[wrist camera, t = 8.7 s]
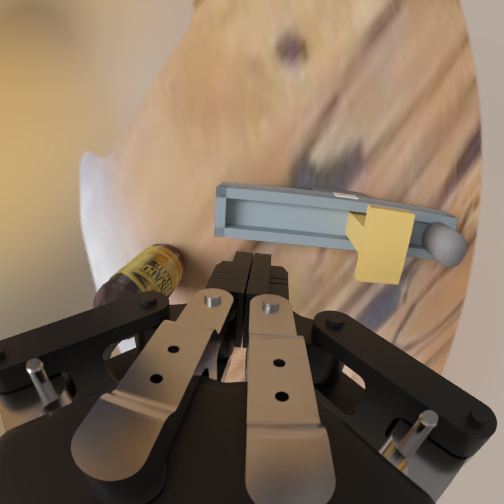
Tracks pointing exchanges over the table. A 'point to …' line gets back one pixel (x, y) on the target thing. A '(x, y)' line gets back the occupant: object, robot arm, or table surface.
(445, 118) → the table surface
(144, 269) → the sauce bottle
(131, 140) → the table surface
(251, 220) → the beam
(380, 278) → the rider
